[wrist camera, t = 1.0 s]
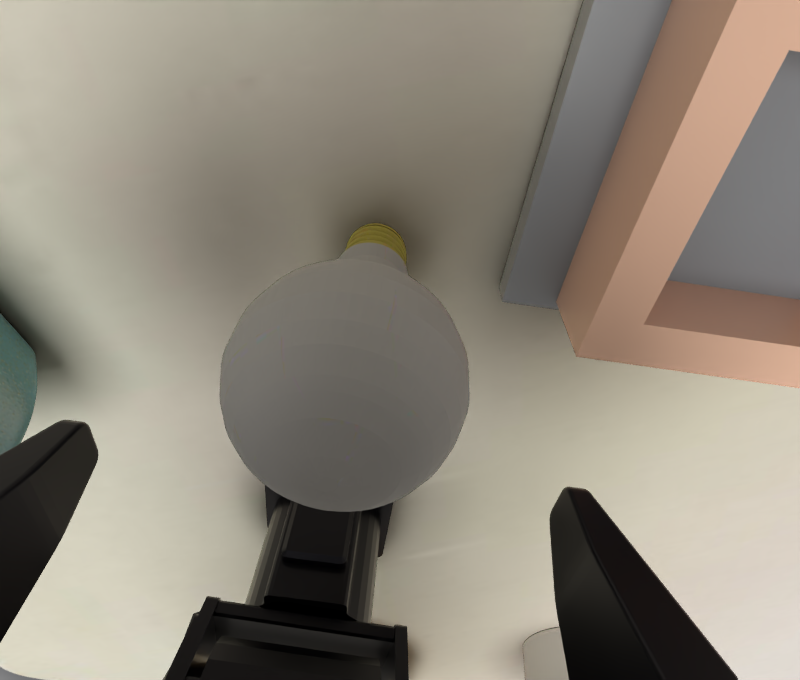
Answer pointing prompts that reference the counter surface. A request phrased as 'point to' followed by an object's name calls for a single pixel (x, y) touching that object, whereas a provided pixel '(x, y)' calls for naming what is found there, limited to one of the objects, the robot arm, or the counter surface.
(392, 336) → the light bulb
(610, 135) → the socket stand
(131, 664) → the counter surface
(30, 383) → the flower pot
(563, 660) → the coffee cup
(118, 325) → the counter surface
